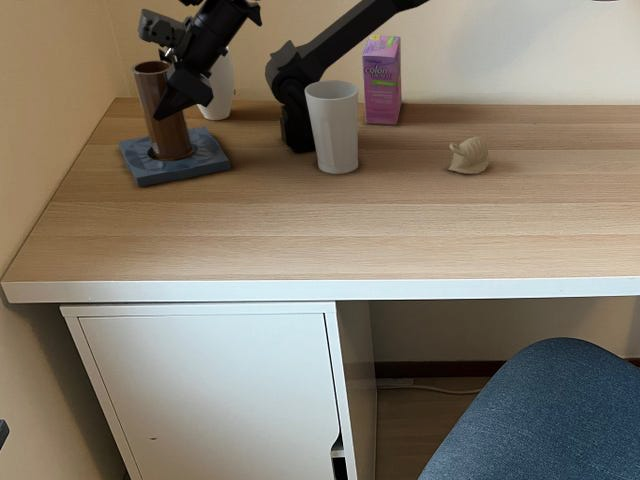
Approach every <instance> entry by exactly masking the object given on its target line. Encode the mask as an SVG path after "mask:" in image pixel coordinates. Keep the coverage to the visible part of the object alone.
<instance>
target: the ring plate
mask: <svg viewBox="0 0 640 480" xmlns="http://www.w3.org/2000/svg"><path fill="white" fill-rule="evenodd" d="M188 132H189V136H190V140H191V146H192V151H191V152H195V153H194V154H192V155H191V156H189V157H187V158H183V159H180V160H175V161H174V160H173V161H172V160H171V161H163V160H157V159H153V157H154V156H156V155H155V154H154V151H153V149H152V145H151V141H150V138H149V135H148V136H143V137H138V138H137V137H136V138H132V139H126V140H120V141H117V143H118V147H119V151H120V152H121V155H122V156H123V159H124V162H125V165H126V168H127V170H128V171H129V172H130V173H131V174H132V177H133V179H134V181H135V183H136V185H137V186H138V188H141V187H146V186H150V185H156V184H161V183H167V182H172V181H178V180H179V181H180V180H184V179H185V180H186V179H190V178H195V177H197V176H202V175H206V174H207V175H208V174H213V173H217V172H223V171H228V170H231V163H230V160H229V158H228V156H227V155H226V154H225V153H224V151H223V149H221V145H220V143H219V142H218V140H217V139H215V138H214V137H213V136H212V134H211V132H210V131H209V130H208V128H207V127H206V126H200V127H195V128H188Z"/></svg>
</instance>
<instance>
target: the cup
mask: <svg viewBox="0 0 640 480" xmlns="http://www.w3.org/2000/svg"><path fill="white" fill-rule="evenodd" d="M305 96H306V100H307V105H308V110H309V115H310V120H311V126H312V131H313V136H314V142H315V147H316V149H315V152H316V157H317V165H318V168H319V170H321V171H322V172H325V173H327V174H334V175H339V174H340V175H341V174H347V173H351V172H353V171H355V170H356V169H357V168H358V167H359V157H358V156H359V155H358V154H359V153H358V152H359V151H358V149H359V148H358V147H359V145H358V143H359V142H358V141H359V138H358V137H359V130H358V129H359V88H358V86H357V85H356V84H354V83H352V82H349V81H345V80H338V79H336V80H335V79H330V80H329V79H327V80H320V81H319V82H315V83H312V84H310V85H308V86H307V87H306V88H305Z"/></svg>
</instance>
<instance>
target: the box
mask: <svg viewBox="0 0 640 480" xmlns="http://www.w3.org/2000/svg"><path fill="white" fill-rule="evenodd" d="M401 41H402V40H401V36H395V35H379V34H378V35H377V34H370V35H369V36H368V37H367V39H366V43H365V46H364V49H363V52H362V55H361V63H362V81H363V83H362V84H363V101H364V120H365V121H364V123H365V124H366V125H367V124H368V125H382V126H383V125H386V126H397V124H398V120H399V115H400V111H401V107H402V102H403V101H402V100H403V99H402V53H401V52H402V51H401V50H402V43H401Z"/></svg>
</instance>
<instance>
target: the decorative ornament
mask: <svg viewBox="0 0 640 480" xmlns="http://www.w3.org/2000/svg"><path fill="white" fill-rule="evenodd" d="M449 148H450V150H451V151H453V156H452V160H451V164H450V166H448V169H447V170H448V171H454V172H456V173H461V174H468V175H478V174H480V173H483V172H485V170H486V169H487V167H488V166H489V162H490V160H489V145H488V143H487V142H486V141H485V139H484V138H483V137H481V136H473V137H470V138H467V139H466V140H464V141H462V142H461V143H460V144H456V143H453V142H451V143H450V144H449Z"/></svg>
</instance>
